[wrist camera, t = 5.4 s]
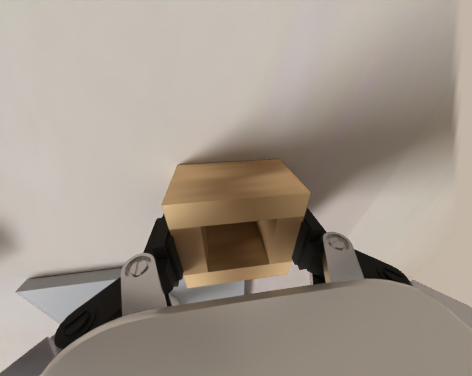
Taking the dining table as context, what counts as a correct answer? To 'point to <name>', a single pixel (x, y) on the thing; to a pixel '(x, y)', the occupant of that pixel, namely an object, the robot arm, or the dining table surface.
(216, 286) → the peg board
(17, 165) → the dining table surface
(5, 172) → the dining table surface
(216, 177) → the hollow wooden block
